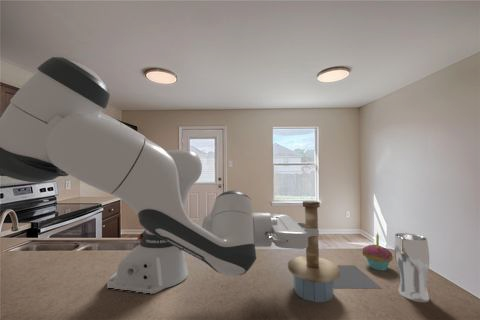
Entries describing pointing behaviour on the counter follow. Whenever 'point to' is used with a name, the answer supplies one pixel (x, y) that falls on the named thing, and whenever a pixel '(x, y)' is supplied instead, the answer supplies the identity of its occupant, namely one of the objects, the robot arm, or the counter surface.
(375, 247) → the cupcake
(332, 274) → the brown piece
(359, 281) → the mat
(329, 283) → the bowl
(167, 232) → the robot arm
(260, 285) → the counter surface
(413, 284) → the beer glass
